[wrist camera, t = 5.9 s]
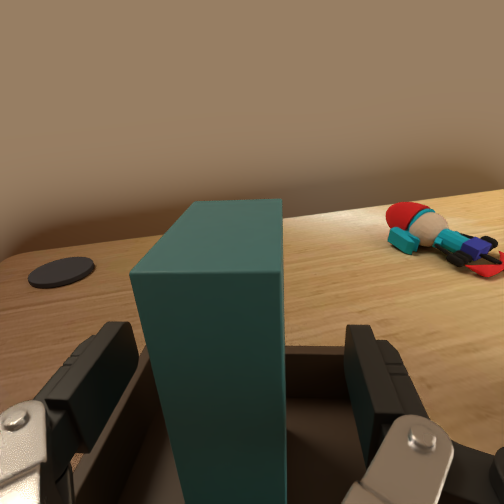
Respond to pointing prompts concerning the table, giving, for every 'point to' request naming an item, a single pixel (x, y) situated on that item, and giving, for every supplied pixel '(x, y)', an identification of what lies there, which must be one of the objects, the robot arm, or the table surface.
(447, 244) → the toy figure
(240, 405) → the block
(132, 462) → the brown wooden tray
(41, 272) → the coaster
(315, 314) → the table surface
